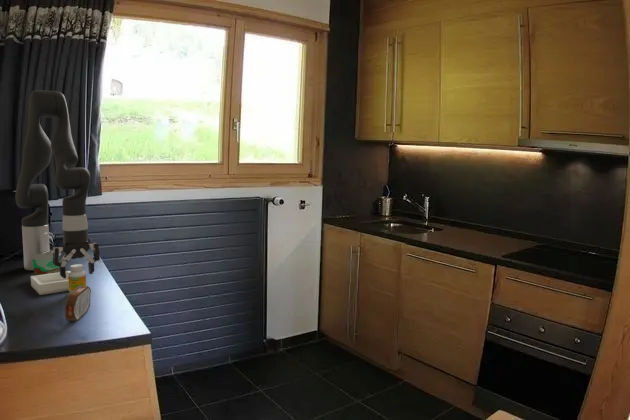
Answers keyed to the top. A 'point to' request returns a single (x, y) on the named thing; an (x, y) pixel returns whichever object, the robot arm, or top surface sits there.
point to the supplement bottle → (76, 277)
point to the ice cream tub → (44, 263)
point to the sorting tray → (50, 283)
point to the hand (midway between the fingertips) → (77, 275)
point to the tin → (77, 303)
